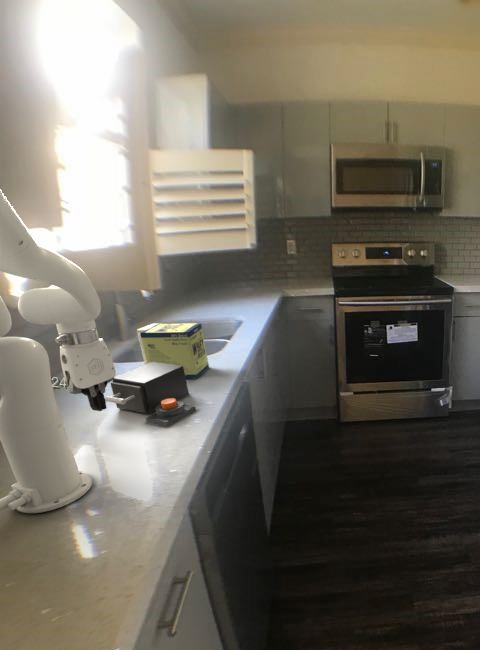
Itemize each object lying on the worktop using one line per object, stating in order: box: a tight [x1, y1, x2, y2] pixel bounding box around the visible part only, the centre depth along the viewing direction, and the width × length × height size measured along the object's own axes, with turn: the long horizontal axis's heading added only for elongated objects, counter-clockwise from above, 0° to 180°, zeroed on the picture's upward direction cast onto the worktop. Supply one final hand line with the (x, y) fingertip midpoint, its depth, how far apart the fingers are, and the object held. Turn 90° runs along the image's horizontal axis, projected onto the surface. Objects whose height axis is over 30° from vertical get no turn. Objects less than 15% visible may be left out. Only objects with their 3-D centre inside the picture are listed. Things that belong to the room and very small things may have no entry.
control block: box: [145, 400, 197, 428], centre depth 119 cm, size 10×7×3 cm
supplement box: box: [136, 323, 157, 365], centre depth 158 cm, size 8×5×13 cm, turn 168°
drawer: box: [104, 381, 149, 414], centre depth 124 cm, size 17×10×7 cm, turn 159°
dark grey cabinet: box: [112, 362, 190, 415], centre depth 128 cm, size 14×12×9 cm
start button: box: [161, 398, 177, 409], centre depth 119 cm, size 4×4×2 cm
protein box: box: [140, 322, 210, 380], centre depth 147 cm, size 10×16×16 cm
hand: (99, 409), depth 113 cm, fingers closed
